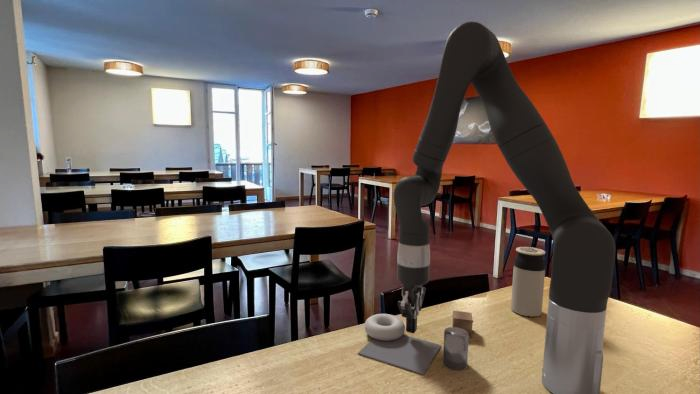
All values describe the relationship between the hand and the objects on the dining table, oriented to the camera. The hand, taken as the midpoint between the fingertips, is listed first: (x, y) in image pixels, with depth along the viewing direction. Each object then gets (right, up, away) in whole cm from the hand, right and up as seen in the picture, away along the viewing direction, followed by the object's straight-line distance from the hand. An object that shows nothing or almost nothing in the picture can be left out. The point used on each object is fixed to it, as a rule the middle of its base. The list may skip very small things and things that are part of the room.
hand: (411, 331), depth 88 cm
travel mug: (+36, -1, +17) cm, 39 cm away
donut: (-1, 0, +2) cm, 2 cm away
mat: (-3, -3, -5) cm, 6 cm away
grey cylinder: (+8, -3, -10) cm, 13 cm away
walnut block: (+13, -2, +4) cm, 14 cm away
